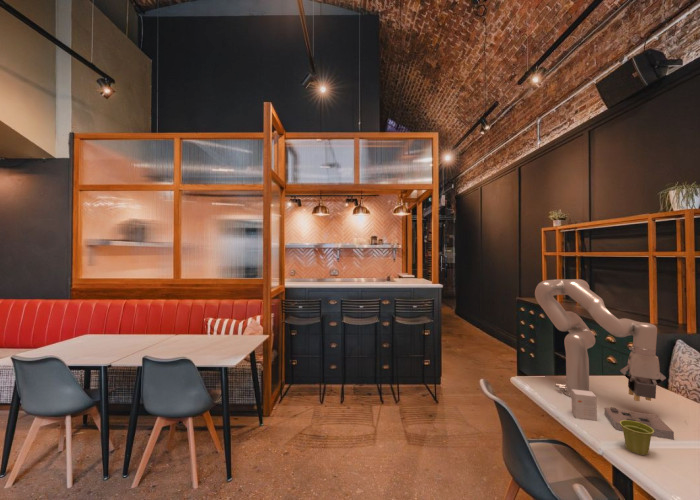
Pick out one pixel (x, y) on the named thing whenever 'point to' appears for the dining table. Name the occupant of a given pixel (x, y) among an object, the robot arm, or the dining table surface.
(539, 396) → the dining table surface
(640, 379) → the plug
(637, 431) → the plant pot
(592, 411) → the small box
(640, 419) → the socket
